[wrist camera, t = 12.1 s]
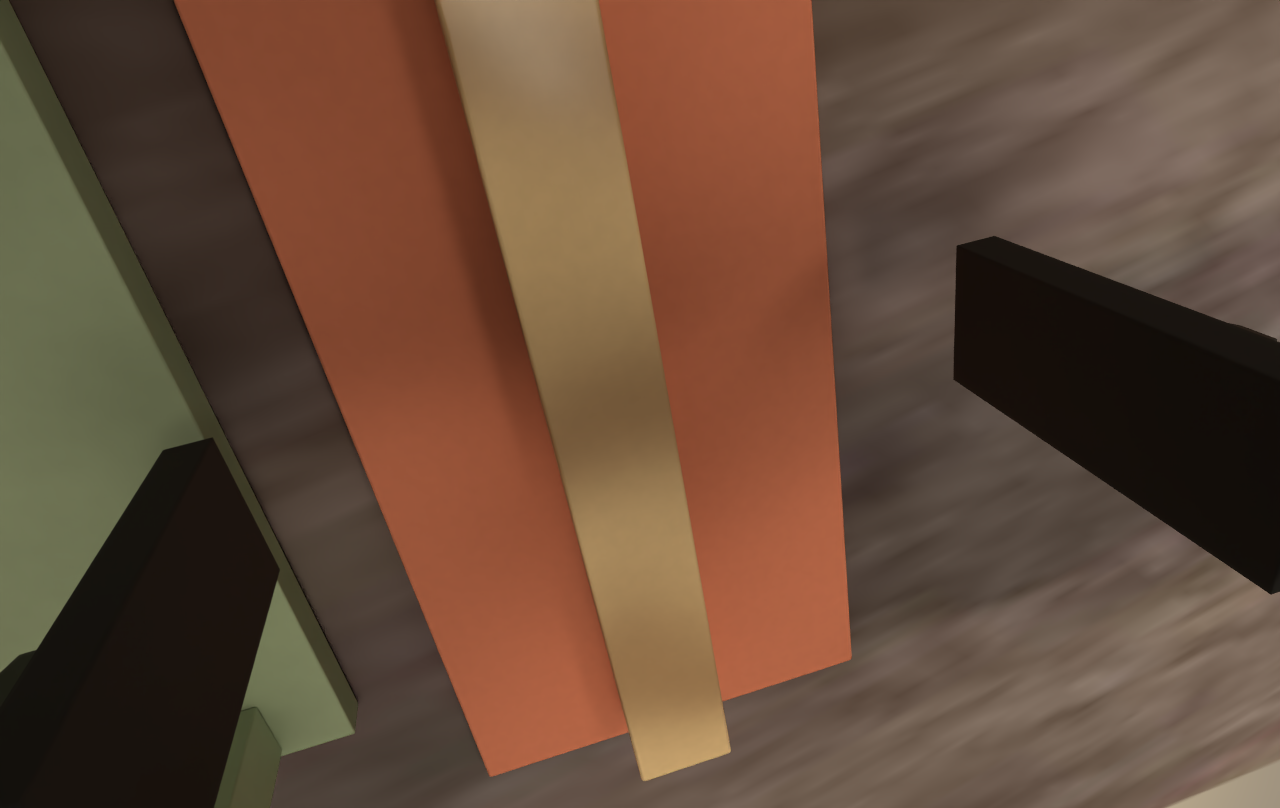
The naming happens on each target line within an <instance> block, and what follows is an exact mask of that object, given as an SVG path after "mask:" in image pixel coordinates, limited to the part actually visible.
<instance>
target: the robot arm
mask: <svg viewBox="0 0 1280 808" xmlns="http://www.w3.org/2000/svg"><path fill="white" fill-rule="evenodd" d="M954 380H955V381H957V382H958V383H960V384H961V385H962V386H964V387H965V388H967V389H968V390H970V391H971V392H973V393H974V394H976V395H977V396H979V397H980V398H982V399H983V400H985V401H986V402H988V403H989V404H990V405H992V406H993V407H995V408H996V409H998V410H999V411H1001V412H1002V413H1004V414H1005V415H1007V416H1008V417H1010V418H1011V419H1013V420H1014V421H1016V422H1017V423H1019V424H1020V425H1021V426H1023V427H1024V428H1026V429H1027V430H1029V431H1030V432H1032V433H1033V434H1035V435H1036V436H1038V437H1039V438H1041V439H1042V440H1044V441H1045V442H1047V443H1048V444H1050V445H1051V446H1052V447H1054V448H1055V449H1057V450H1058V451H1060V452H1061V453H1063V454H1064V455H1066V456H1067V457H1069V458H1070V459H1072V460H1073V461H1075V462H1076V463H1078V464H1079V465H1081V466H1082V467H1083V468H1085V469H1086V470H1088V471H1089V472H1091V473H1092V474H1094V475H1095V476H1097V477H1098V478H1100V479H1101V480H1103V481H1104V482H1106V483H1107V484H1109V485H1110V486H1112V487H1113V488H1114V489H1116V490H1117V491H1119V492H1120V493H1122V494H1123V495H1125V496H1126V497H1128V498H1129V499H1131V500H1132V501H1134V502H1135V503H1137V504H1138V505H1140V506H1141V507H1142V508H1144V509H1145V510H1147V511H1148V512H1150V513H1151V514H1153V515H1154V516H1156V517H1157V518H1159V519H1160V520H1162V521H1163V522H1165V523H1166V524H1168V525H1169V526H1171V527H1172V528H1173V529H1175V530H1176V531H1178V532H1179V533H1181V534H1182V535H1184V536H1185V537H1187V538H1188V539H1190V540H1191V541H1193V542H1194V543H1196V544H1197V545H1199V546H1200V547H1202V548H1203V549H1204V550H1206V551H1207V552H1209V553H1210V554H1212V555H1213V556H1215V557H1216V558H1218V559H1219V560H1221V561H1222V562H1224V563H1225V564H1227V565H1228V566H1230V567H1231V568H1233V569H1234V570H1235V571H1237V572H1238V573H1240V574H1241V575H1243V576H1244V577H1246V578H1247V579H1249V580H1250V581H1252V582H1253V583H1255V584H1256V585H1258V586H1259V587H1261V588H1262V589H1264V590H1265V591H1266V592H1268V593H1269V594H1274V593H1277V592H1280V342H1277V339H1275V338H1273V337H1270V336H1267V335H1265V334H1262V333H1259V332H1257V331H1254V330H1251V329H1249V328H1246V327H1243V326H1240V325H1235V324H1230V323H1226V322H1223V321H1221V320H1218V319H1215V318H1213V317H1210V316H1207V315H1205V314H1202V313H1199V312H1197V311H1194V310H1191V309H1189V308H1186V307H1183V306H1181V305H1178V304H1175V303H1173V302H1170V301H1167V300H1164V299H1162V298H1159V297H1156V296H1154V295H1151V294H1148V293H1146V292H1143V291H1140V290H1138V289H1135V288H1132V287H1130V286H1127V285H1124V284H1122V283H1119V282H1116V281H1114V280H1111V279H1108V278H1106V277H1103V276H1100V275H1098V274H1095V273H1092V272H1090V271H1087V270H1084V269H1082V268H1079V267H1076V266H1073V265H1071V264H1068V263H1065V262H1063V261H1060V260H1057V259H1055V258H1052V257H1049V256H1047V255H1044V254H1041V253H1039V252H1036V251H1033V250H1031V249H1028V248H1025V247H1023V246H1020V245H1017V244H1015V243H1012V242H1009V241H1007V240H1004V239H1001V238H999V237H996V236H992V237H989V238H985V239H981V240H977V241H973V242H969V243H965V244H961V245H957V253H956V295H955V337H954ZM279 572H280V568H279V566H278V564H277V562H276V560H275V558H274V557H273V555H272V553H271V551H270V549H269V547H268V545H267V543H266V541H265V539H264V537H263V535H262V533H261V531H260V529H259V527H258V525H257V523H256V521H255V519H254V517H253V515H252V513H251V511H250V509H249V507H248V505H247V503H246V502H245V500H244V498H243V496H242V494H241V492H240V490H239V488H238V486H237V484H236V482H235V480H234V478H233V476H232V474H231V472H230V470H229V468H228V466H227V464H226V462H225V460H224V458H223V456H222V454H221V452H220V450H219V448H218V447H217V445H216V443H215V441H214V439H213V437H212V438H208V439H204V440H200V441H196V442H192V443H188V444H184V445H180V446H177V447H173V448H169V449H165V450H163V451H162V452H161V454H160V455H159V457H158V458H157V460H156V462H155V463H154V465H153V466H152V468H151V470H150V471H149V473H148V474H147V476H146V477H145V479H144V481H143V482H142V484H141V485H140V487H139V489H138V490H137V492H136V493H135V495H134V496H133V498H132V500H131V501H130V503H129V504H128V506H127V508H126V509H125V511H124V512H123V514H122V515H121V517H120V519H119V520H118V522H117V523H116V525H115V527H114V528H113V530H112V531H111V533H110V534H109V536H108V538H107V539H106V541H105V542H104V544H103V545H102V547H101V549H100V550H99V552H98V553H97V555H96V557H95V558H94V560H93V561H92V563H91V564H90V566H89V568H88V569H87V571H86V572H85V574H84V576H83V577H82V579H81V580H80V582H79V583H78V585H77V587H76V588H75V590H74V591H73V593H72V595H71V596H70V598H69V599H68V601H67V602H66V604H65V606H64V607H63V609H62V610H61V612H60V613H59V615H58V617H57V618H56V620H55V621H54V623H53V625H52V626H51V628H50V629H49V631H48V632H47V634H46V636H45V637H44V639H43V640H42V642H41V644H40V645H39V647H38V648H37V650H34V651H31V652H27V653H24V654H20V655H18V656H17V657H16V658H15V659H14V660H13V661H12V662H11V663H10V664H9V665H8V666H7V667H6V668H5V669H3V670H2V671H1V672H0V808H214V806H215V802H216V799H217V795H218V792H219V788H220V784H221V781H222V777H223V774H224V770H225V766H226V763H227V759H228V756H229V752H230V748H231V745H232V741H233V738H234V734H235V730H236V727H237V723H238V720H239V716H240V712H241V709H242V705H243V702H244V698H245V694H246V691H247V687H248V684H249V680H250V676H251V673H252V669H253V666H254V662H255V658H256V655H257V651H258V648H259V644H260V640H261V637H262V633H263V630H264V626H265V622H266V619H267V615H268V612H269V608H270V604H271V601H272V597H273V594H274V590H275V586H276V583H277V579H278V576H279Z"/></svg>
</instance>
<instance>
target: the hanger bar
mask: <svg viewBox="0 0 1280 808" xmlns="http://www.w3.org/2000/svg"><path fill="white" fill-rule="evenodd" d="M434 2H435V6H436V10H437V14H438V17H439V21H440V25H441V29H442V32H443V36H444V40H445V44H446V47H447V51H448V55H449V59H450V62H451V66H452V70H453V74H454V77H455V81H456V85H457V89H458V93H459V96H460V100H461V104H462V108H463V111H464V115H465V119H466V123H467V126H468V130H469V134H470V138H471V141H472V145H473V149H474V153H475V157H476V160H477V164H478V168H479V172H480V175H481V179H482V183H483V187H484V190H485V194H486V198H487V202H488V205H489V209H490V213H491V217H492V220H493V224H494V228H495V232H496V236H497V239H498V243H499V247H500V251H501V254H502V258H503V262H504V266H505V269H506V273H507V277H508V281H509V284H510V288H511V292H512V296H513V300H514V303H515V307H516V311H517V315H518V318H519V322H520V326H521V330H522V333H523V337H524V341H525V345H526V348H527V352H528V356H529V360H530V363H531V367H532V371H533V375H534V379H535V382H536V386H537V390H538V394H539V397H540V401H541V405H542V409H543V412H544V416H545V420H546V424H547V427H548V431H549V435H550V439H551V443H552V446H553V450H554V454H555V458H556V461H557V465H558V469H559V473H560V476H561V480H562V484H563V488H564V491H565V495H566V499H567V503H568V506H569V510H570V514H571V518H572V522H573V525H574V529H575V533H576V537H577V540H578V544H579V548H580V552H581V555H582V559H583V563H584V567H585V570H586V574H587V578H588V582H589V586H590V589H591V593H592V597H593V601H594V604H595V608H596V612H597V616H598V619H599V623H600V627H601V631H602V634H603V638H604V642H605V646H606V649H607V653H608V657H609V661H610V665H611V668H612V672H613V676H614V680H615V683H616V687H617V691H618V695H619V698H620V702H621V706H622V710H623V713H624V717H625V721H626V724H627V728H628V732H629V735H630V739H631V742H632V746H633V750H634V753H635V757H636V761H637V764H638V768H639V772H640V775H641V779H642V780H643V781H647V780H650V779H653V778H656V777H659V776H662V775H665V774H668V773H671V772H674V771H677V770H680V769H683V768H686V767H689V766H692V765H695V764H698V763H701V762H704V761H707V760H710V759H713V758H716V757H719V756H722V755H725V754H728V753H730V751H731V748H730V742H729V737H728V731H727V725H726V720H725V714H724V708H723V703H722V697H721V691H720V686H719V680H718V674H717V669H716V663H715V657H714V652H713V646H712V640H711V635H710V629H709V623H708V618H707V612H706V606H705V601H704V595H703V589H702V584H701V578H700V572H699V567H698V561H697V555H696V550H695V544H694V538H693V533H692V527H691V521H690V516H689V510H688V504H687V499H686V493H685V487H684V482H683V476H682V470H681V465H680V459H679V453H678V448H677V442H676V436H675V431H674V425H673V419H672V414H671V408H670V402H669V397H668V391H667V385H666V380H665V374H664V368H663V363H662V357H661V351H660V346H659V340H658V334H657V329H656V323H655V317H654V312H653V306H652V300H651V295H650V289H649V283H648V278H647V272H646V266H645V261H644V255H643V249H642V244H641V238H640V232H639V227H638V221H637V215H636V209H635V204H634V198H633V192H632V187H631V181H630V175H629V170H628V164H627V158H626V153H625V147H624V141H623V136H622V130H621V124H620V119H619V113H618V107H617V102H616V96H615V90H614V85H613V79H612V73H611V68H610V62H609V56H608V51H607V45H606V39H605V34H604V28H603V22H602V17H601V11H600V5H599V0H434Z"/></svg>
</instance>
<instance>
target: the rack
mask: <svg viewBox="0 0 1280 808" xmlns="http://www.w3.org/2000/svg"><path fill="white" fill-rule="evenodd" d="M212 437H213V439H214V441H215V443H216V445H217V447H218V448H219V450H220V452H221V454H222V456H223V458H224V460H225V462H226V464H227V466H228V468H229V470H230V472H231V474H232V476H233V478H234V480H235V482H236V484H237V486H238V488H239V490H240V492H241V494H242V496H243V498H244V500H245V502H246V503H247V505H248V507H249V509H250V511H251V513H252V515H253V517H254V519H255V521H256V523H257V525H258V527H259V529H260V531H261V533H262V535H263V537H264V539H265V541H266V543H267V545H268V547H269V549H270V551H271V553H272V555H273V557H274V558H275V560H276V562H277V564H278V566H279V568H280V572H279V576H278V579H277V583H276V586H275V590H274V594H273V597H272V601H271V604H270V608H269V612H268V615H267V619H266V622H265V626H264V630H263V633H262V637H261V640H260V644H259V648H258V651H257V655H256V658H255V662H254V666H253V669H252V673H251V676H250V680H249V684H248V687H247V691H246V694H245V698H244V702H243V705H242V709H241V712H240V716H239V720H238V723H237V727H236V730H235V734H234V738H233V741H232V745H231V748H230V752H229V756H228V759H227V763H226V766H225V770H224V774H223V777H222V781H221V784H220V788H219V792H218V795H217V799H216V802H215V806H214V808H270V805H271V800H272V796H273V791H274V786H275V782H276V777H277V772H278V767H279V763H280V758H281V756H284V755H287V754H290V753H293V752H297V751H300V750H303V749H306V748H309V747H313V746H316V745H319V744H322V743H326V742H329V741H332V740H335V739H338V738H342V737H345V736H348V735H351V734H354V733H355V726H356V718H357V709H358V703H357V700H356V698H355V696H354V694H353V692H352V690H351V688H350V686H349V684H348V682H347V680H346V678H345V676H344V674H343V672H342V670H341V668H340V666H339V664H338V662H337V660H336V658H335V656H334V654H333V652H332V650H331V648H330V646H329V644H328V642H327V640H326V638H325V636H324V634H323V632H322V630H321V628H320V626H319V624H318V622H317V620H316V618H315V616H314V614H313V612H312V610H311V608H310V606H309V604H308V602H307V600H306V598H305V596H304V594H303V592H302V590H301V588H300V586H299V584H298V582H297V580H296V578H295V576H294V574H293V572H292V570H291V568H290V566H289V564H288V562H287V560H286V558H285V556H284V553H283V551H282V549H281V547H280V545H279V543H278V541H277V539H276V537H275V535H274V533H273V531H272V529H271V527H270V525H269V523H268V521H267V519H266V517H265V515H264V513H263V511H262V509H261V507H260V505H259V503H258V501H257V499H256V497H255V495H254V493H253V491H252V489H251V487H250V485H249V483H248V481H247V479H246V477H245V475H244V473H243V471H242V469H241V467H240V465H239V463H238V461H237V459H236V457H235V455H234V453H233V451H232V449H231V447H230V445H229V443H228V441H227V439H226V437H225V435H224V433H223V431H222V429H221V427H220V425H219V423H218V421H217V419H216V417H215V415H214V413H213V411H212V408H211V406H210V404H209V402H208V400H207V398H206V396H205V394H204V392H203V390H202V388H201V386H200V384H199V382H198V380H197V378H196V376H195V374H194V372H193V370H192V368H191V366H190V364H189V362H188V360H187V358H186V356H185V354H184V352H183V350H182V348H181V346H180V344H179V342H178V340H177V338H176V336H175V334H174V332H173V330H172V328H171V326H170V324H169V322H168V320H167V318H166V316H165V314H164V312H163V310H162V308H161V306H160V304H159V302H158V300H157V298H156V296H155V294H154V292H153V290H152V288H151V286H150V284H149V282H148V280H147V278H146V276H145V274H144V272H143V270H142V268H141V266H140V264H139V261H138V259H137V257H136V255H135V253H134V251H133V249H132V247H131V245H130V243H129V241H128V239H127V237H126V235H125V233H124V231H123V229H122V227H121V225H120V223H119V221H118V219H117V217H116V215H115V213H114V211H113V209H112V207H111V205H110V203H109V201H108V199H107V197H106V195H105V193H104V191H103V189H102V187H101V185H100V183H99V181H98V179H97V177H96V175H95V173H94V171H93V169H92V167H91V165H90V163H89V161H88V159H87V157H86V155H85V153H84V151H83V149H82V147H81V145H80V143H79V141H78V139H77V137H76V135H75V133H74V131H73V129H72V127H71V125H70V123H69V121H68V119H67V117H66V114H65V112H64V110H63V108H62V106H61V104H60V102H59V100H58V98H57V96H56V94H55V92H54V90H53V88H52V86H51V84H50V82H49V80H48V78H47V76H46V74H45V72H44V70H43V68H42V66H41V64H40V62H39V60H38V58H37V56H36V54H35V52H34V50H33V48H32V46H31V44H30V42H29V40H28V38H27V36H26V34H25V32H24V30H23V28H22V26H21V24H20V22H19V20H18V18H17V16H16V14H15V12H14V10H13V8H12V6H11V4H10V2H9V0H0V672H1V671H2V670H3V669H5V668H6V667H7V666H8V665H9V664H10V663H11V662H12V661H13V660H14V659H15V658H16V657H17V656H18V655H20V654H24V653H27V652H31V651H34V650H37V648H38V647H39V645H40V644H41V642H42V640H43V639H44V637H45V636H46V634H47V632H48V631H49V629H50V628H51V626H52V625H53V623H54V621H55V620H56V618H57V617H58V615H59V613H60V612H61V610H62V609H63V607H64V606H65V604H66V602H67V601H68V599H69V598H70V596H71V595H72V593H73V591H74V590H75V588H76V587H77V585H78V583H79V582H80V580H81V579H82V577H83V576H84V574H85V572H86V571H87V569H88V568H89V566H90V564H91V563H92V561H93V560H94V558H95V557H96V555H97V553H98V552H99V550H100V549H101V547H102V545H103V544H104V542H105V541H106V539H107V538H108V536H109V534H110V533H111V531H112V530H113V528H114V527H115V525H116V523H117V522H118V520H119V519H120V517H121V515H122V514H123V512H124V511H125V509H126V508H127V506H128V504H129V503H130V501H131V500H132V498H133V496H134V495H135V493H136V492H137V490H138V489H139V487H140V485H141V484H142V482H143V481H144V479H145V477H146V476H147V474H148V473H149V471H150V470H151V468H152V466H153V465H154V463H155V462H156V460H157V458H158V457H159V455H160V454H161V452H162V451H163V450H165V449H169V448H173V447H177V446H180V445H184V444H188V443H192V442H196V441H200V440H204V439H208V438H212Z"/></svg>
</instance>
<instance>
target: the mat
mask: <svg viewBox="0 0 1280 808" xmlns="http://www.w3.org/2000/svg"><path fill="white" fill-rule="evenodd" d="M174 3H175V5H176V8H177V10H178V13H179V15H180V17H181V20H182V22H183V25H184V27H185V30H186V32H187V35H188V37H189V40H190V42H191V44H192V47H193V49H194V52H195V54H196V57H197V59H198V62H199V64H200V67H201V69H202V71H203V74H204V76H205V79H206V81H207V84H208V86H209V89H210V91H211V94H212V96H213V99H214V101H215V103H216V106H217V108H218V111H219V113H220V116H221V118H222V121H223V123H224V126H225V128H226V130H227V133H228V135H229V138H230V140H231V143H232V145H233V148H234V150H235V153H236V155H237V157H238V160H239V162H240V165H241V167H242V170H243V172H244V175H245V177H246V180H247V182H248V184H249V187H250V189H251V192H252V194H253V197H254V199H255V202H256V204H257V207H258V209H259V211H260V214H261V216H262V219H263V221H264V224H265V226H266V229H267V231H268V234H269V236H270V238H271V241H272V243H273V246H274V248H275V251H276V253H277V256H278V258H279V261H280V263H281V265H282V268H283V270H284V273H285V275H286V278H287V280H288V283H289V285H290V288H291V290H292V293H293V295H294V297H295V300H296V302H297V305H298V307H299V310H300V312H301V315H302V317H303V320H304V322H305V324H306V327H307V329H308V332H309V334H310V337H311V339H312V342H313V344H314V347H315V349H316V351H317V354H318V356H319V359H320V361H321V364H322V366H323V369H324V371H325V374H326V376H327V378H328V381H329V383H330V386H331V388H332V391H333V393H334V396H335V398H336V401H337V403H338V405H339V408H340V410H341V413H342V415H343V418H344V420H345V423H346V425H347V428H348V430H349V432H350V435H351V437H352V440H353V442H354V445H355V447H356V450H357V452H358V455H359V457H360V459H361V462H362V464H363V467H364V469H365V472H366V474H367V477H368V479H369V482H370V484H371V486H372V489H373V491H374V494H375V496H376V499H377V501H378V504H379V506H380V509H381V511H382V514H383V516H384V518H385V521H386V523H387V526H388V528H389V531H390V533H391V536H392V538H393V541H394V543H395V545H396V548H397V550H398V553H399V555H400V558H401V560H402V563H403V565H404V568H405V570H406V572H407V575H408V577H409V580H410V582H411V585H412V587H413V590H414V592H415V595H416V597H417V599H418V602H419V604H420V607H421V609H422V612H423V614H424V617H425V619H426V622H427V624H428V626H429V629H430V631H431V634H432V636H433V639H434V641H435V644H436V646H437V649H438V651H439V653H440V656H441V658H442V661H443V663H444V666H445V668H446V671H447V673H448V676H449V678H450V680H451V683H452V685H453V688H454V690H455V693H456V695H457V698H458V700H459V703H460V705H461V708H462V710H463V712H464V715H465V717H466V720H467V722H468V725H469V727H470V730H471V732H472V735H473V737H474V739H475V742H476V744H477V747H478V749H479V752H480V754H481V757H482V759H483V762H484V764H485V766H486V769H487V771H488V774H489V776H491V777H492V776H495V775H498V774H501V773H504V772H507V771H511V770H514V769H517V768H520V767H523V766H526V765H529V764H532V763H535V762H538V761H541V760H544V759H547V758H550V757H553V756H557V755H560V754H563V753H566V752H569V751H572V750H575V749H578V748H581V747H584V746H587V745H590V744H593V743H596V742H600V741H603V740H606V739H609V738H612V737H615V736H618V735H621V734H624V733H627V732H628V728H627V724H626V721H625V717H624V713H623V710H622V706H621V702H620V698H619V695H618V691H617V687H616V683H615V680H614V676H613V672H612V668H611V665H610V661H609V657H608V653H607V649H606V646H605V642H604V638H603V634H602V631H601V627H600V623H599V619H598V616H597V612H596V608H595V604H594V601H593V597H592V593H591V589H590V586H589V582H588V578H587V574H586V570H585V567H584V563H583V559H582V555H581V552H580V548H579V544H578V540H577V537H576V533H575V529H574V525H573V522H572V518H571V514H570V510H569V506H568V503H567V499H566V495H565V491H564V488H563V484H562V480H561V476H560V473H559V469H558V465H557V461H556V458H555V454H554V450H553V446H552V443H551V439H550V435H549V431H548V427H547V424H546V420H545V416H544V412H543V409H542V405H541V401H540V397H539V394H538V390H537V386H536V382H535V379H534V375H533V371H532V367H531V363H530V360H529V356H528V352H527V348H526V345H525V341H524V337H523V333H522V330H521V326H520V322H519V318H518V315H517V311H516V307H515V303H514V300H513V296H512V292H511V288H510V284H509V281H508V277H507V273H506V269H505V266H504V262H503V258H502V254H501V251H500V247H499V243H498V239H497V236H496V232H495V228H494V224H493V220H492V217H491V213H490V209H489V205H488V202H487V198H486V194H485V190H484V187H483V183H482V179H481V175H480V172H479V168H478V164H477V160H476V157H475V153H474V149H473V145H472V141H471V138H470V134H469V130H468V126H467V123H466V119H465V115H464V111H463V108H462V104H461V100H460V96H459V93H458V89H457V85H456V81H455V77H454V74H453V70H452V66H451V62H450V59H449V55H448V51H447V47H446V44H445V40H444V36H443V32H442V29H441V25H440V21H439V17H438V14H437V10H436V6H435V2H434V0H174ZM599 5H600V11H601V17H602V22H603V28H604V34H605V39H606V45H607V51H608V56H609V62H610V68H611V73H612V79H613V85H614V90H615V96H616V102H617V107H618V113H619V119H620V124H621V130H622V136H623V141H624V147H625V153H626V158H627V164H628V170H629V175H630V181H631V187H632V192H633V198H634V204H635V209H636V215H637V221H638V227H639V232H640V238H641V244H642V249H643V255H644V261H645V266H646V272H647V278H648V283H649V289H650V295H651V300H652V306H653V312H654V317H655V323H656V329H657V334H658V340H659V346H660V351H661V357H662V363H663V368H664V374H665V380H666V385H667V391H668V397H669V402H670V408H671V414H672V419H673V425H674V431H675V436H676V442H677V448H678V453H679V459H680V465H681V470H682V476H683V482H684V487H685V493H686V499H687V504H688V510H689V516H690V521H691V527H692V533H693V538H694V544H695V550H696V555H697V561H698V567H699V572H700V578H701V584H702V589H703V595H704V601H705V606H706V612H707V618H708V623H709V629H710V635H711V640H712V646H713V652H714V657H715V663H716V669H717V674H718V680H719V686H720V691H721V697H722V701H725V700H729V699H732V698H735V697H738V696H741V695H744V694H747V693H750V692H753V691H756V690H759V689H762V688H765V687H768V686H772V685H775V684H778V683H781V682H784V681H787V680H790V679H793V678H796V677H799V676H802V675H805V674H808V673H811V672H815V671H818V670H821V669H824V668H827V667H830V666H833V665H836V664H839V663H842V662H845V661H848V660H851V658H852V656H851V639H850V623H849V606H848V590H847V574H846V557H845V541H844V525H843V508H842V492H841V476H840V459H839V443H838V426H837V410H836V394H835V377H834V361H833V345H832V328H831V312H830V296H829V279H828V263H827V247H826V230H825V214H824V197H823V181H822V165H821V148H820V132H819V116H818V99H817V83H816V67H815V50H814V34H813V18H812V1H811V0H599Z"/></svg>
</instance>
